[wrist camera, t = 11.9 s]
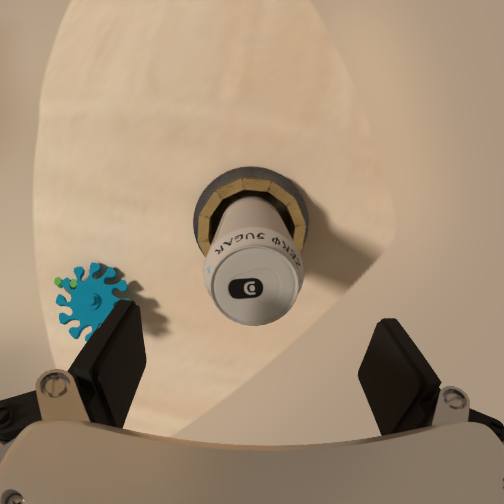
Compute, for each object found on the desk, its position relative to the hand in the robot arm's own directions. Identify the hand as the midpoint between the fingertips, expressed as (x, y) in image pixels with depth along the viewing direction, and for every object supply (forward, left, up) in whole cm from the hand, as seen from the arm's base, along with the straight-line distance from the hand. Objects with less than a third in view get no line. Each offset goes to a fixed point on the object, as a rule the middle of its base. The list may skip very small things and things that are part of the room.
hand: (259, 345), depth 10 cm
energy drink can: (0, 0, -20) cm, 20 cm away
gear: (+11, -18, -22) cm, 31 cm away
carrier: (0, 0, -22) cm, 22 cm away
